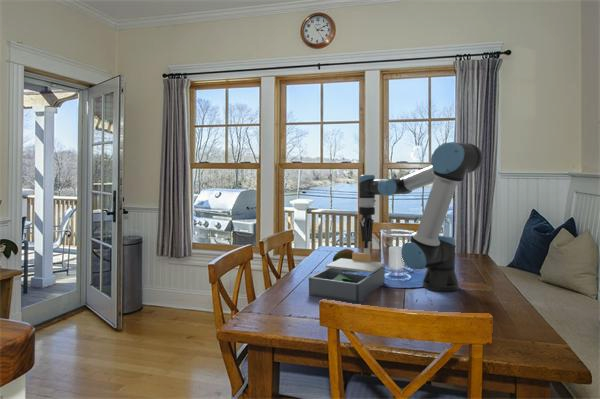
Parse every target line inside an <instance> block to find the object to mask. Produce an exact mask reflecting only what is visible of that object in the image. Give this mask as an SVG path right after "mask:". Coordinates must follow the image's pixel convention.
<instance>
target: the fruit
mask: <svg viewBox="0 0 600 399" xmlns="http://www.w3.org/2000/svg"><path fill="white" fill-rule="evenodd" d="M353 252H355V251H354V250H353V249H349V248H344V249H341V250H339V251H337V252H336V253H335V254H334V255H333V258H332V262H334V261H336V260H338V259H340V258H343V259H352V253H353Z"/></svg>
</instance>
